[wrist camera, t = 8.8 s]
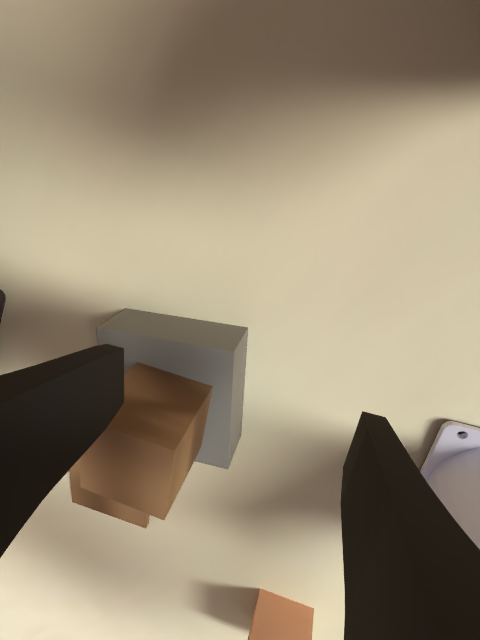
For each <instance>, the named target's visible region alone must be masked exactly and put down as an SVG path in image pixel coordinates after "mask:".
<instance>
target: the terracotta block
mask: <svg viewBox="0 0 480 640" xmlns="http://www.w3.org/2000/svg"><path fill="white" fill-rule="evenodd" d="M313 614H314V608H311V607H308V606H306V605H303V604H300V603H298V602H295V601H292V600H289V599H287V598H284V597H281V596H279V595H276V594H273V593H271V592H268V591H265V590H263V589H260V591H259V595H258V599H257V602H256V606H255V610H254V613H253V617H252V621H251V626H250V631H249V636H248V640H312V628H313Z"/></svg>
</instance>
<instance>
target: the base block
mask: <svg viewBox="0 0 480 640" xmlns="http://www.w3.org/2000/svg"><path fill="white" fill-rule="evenodd" d="M96 332H97V341H98V345H103V344H110V345H114V346H117V347H121V348H124V375H125V374H126V373H127V372H128V371H129V370H130V369H131V368H132V367H133V366H134V365H135V364H136V363H137V362H139V363H142V364H145V365H148V366H151V367H154V368H158V369H161V370H164V371H167V372H170V373H173V374H176V375H179V376H182V377H185V378H188V379H191V380H195V381H198V382H201V383H204V384H207V385H210V386H213V388H212V393H211V398H210V404H209V409H208V414H207V419H206V424H205V430H204V435H203V440H202V445H201V448H200V450H199V452H198V454H197V456H196V458H195V460H194V461H196V462H201V463H205V464H209V465H213V466H217V467H221V468H225V469H228V468H229V465H230V463H231V460H232V458H233V455H234V452H235V450H236V447H237V444H238V442H239V439H240V436H241V428H242V413H243V397H244V382H245V367H246V352H247V337H248V328H247V327H240V326H234V325H228V324H221V323H215V322H209V321H202V320H196V319H190V318H183V317H177V316H170V315H164V314H158V313H151V312H145V311H139V310H132V309H124V310H123V311H121V312H120V313H118V314H117V315H115V316H114V317H112V318H111V319H109V320H107V321H106V322H104V323H103V324H101V325H100V326H98V327H97V328H96Z"/></svg>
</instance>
